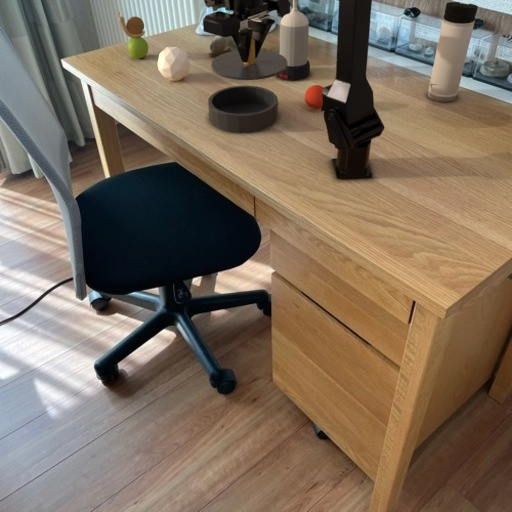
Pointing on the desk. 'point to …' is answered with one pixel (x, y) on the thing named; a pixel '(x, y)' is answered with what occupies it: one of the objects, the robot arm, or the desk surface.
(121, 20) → the snail figurine
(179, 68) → the geometric ball
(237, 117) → the black round open container
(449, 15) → the travel mug
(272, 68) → the flat gray disc
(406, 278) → the desk surface
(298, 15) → the humidifier
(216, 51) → the lucky cat figurine
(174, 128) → the desk surface
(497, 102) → the desk surface
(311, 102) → the ball
